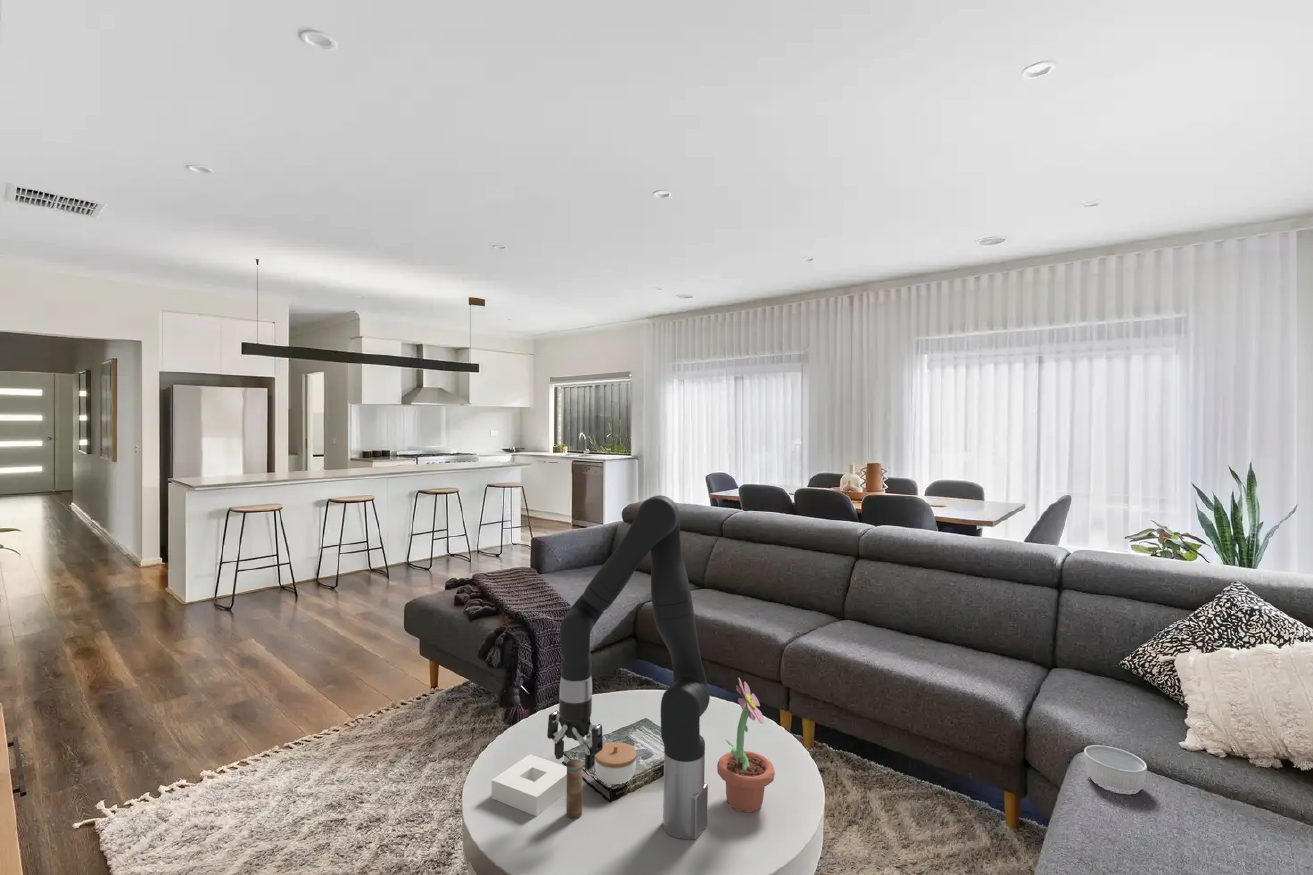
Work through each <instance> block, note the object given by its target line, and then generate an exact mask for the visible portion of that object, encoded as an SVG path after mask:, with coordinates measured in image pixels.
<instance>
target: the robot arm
mask: <svg viewBox="0 0 1313 875" xmlns="http://www.w3.org/2000/svg"><path fill="white" fill-rule="evenodd" d="M680 528H681V527H680V510H679V508H678V506H677V504H676V502H675V501H674V500H673V499H671V498H670V497H668V496H666V495H655V496H654V495H653V496H652V497H649V498H647V499H646V500H644V501H643V502H642V503H641V504H640V506H639V507H638V510H637V513H636V515H635V517H634V519H633V521H632V523H631V525H630V526H629V528H628V531H627V533H626V534H625V536H624V537H623V538H622V539H621V541H620V543H619V545H618V546H617V547H616V549H615V550H614V551H613V553H612V554H611V555H610V556H609V557H608V559H607V560H606V561H605V562H604V564H602V566H601V568H600V569H599V570H598V571H597V572H596V573H595V575H594V577H593V578H592V579H591V580H590V582H589V584H588V585H587V586H586V587H585V589H584V591H583V593H582V594H581V595H580V596H579V597H578V598H577V600H576V601H574V603H573V604H572V605H571V607H570V608H569V609H568V611H567V613H566V614H565V616H564V617H563V618H562V620H561V623H560V629H559V640H560V641H559V643H560V644H559V645H560V652H561V668H560V682H559V698H558V699H559V700H558V701H559V702H558V703H559V704H558V706H559V707H558V710H555V711H553V712H551V713H549V714H548V719H547V720H548V722H547V734H546V736H547V738H548V740H551V739H552V741H553V743H554V747H553V748H554V756H555V760H557V761H558V760H560V759H562V758H563V757H564V755H565V754H564V753H565V752H564V751H565V740H563V739H564V738H565V737H566V738H567V739H572V740H573V741H576V742H578V744H579V746H580V747H582V748H583V750H584V752H585V759H584V770H585V771H589V770H591V769H592V768H593V767H595V755H596V754H597V753H598V752H600V751H601V750H602V749H603V726H602V724H601V723H598V724H597V725H596V724H592V722H591V716H592V711H593V710H592V707H593V679H592V665H593V664H592V663H593V662H592V661H593V660H592V658H593V657H592V653H591V650H590V648H591V646H590V644H591V643H590V642H591V634H592V631H593V629H594V626H595V625H596V623H597V622H598V621H599V619H600V618H601V616H602V615H603V614H604V612H605V611H607V610H608V609H609V608H610V607H611V605H612V604H613V603H614V602H615V600H617V598H618V597H619V595H620V594H621V593H622V592H623V590H624V588H625V587H626V586H627V584H628V583H629V581H630V579H631V578H632V576H633V574H634V572H635V571H636V569H637V567H639V565H640V564H641V562H642V561H643V559H644V558H645V557H646V556H647V554H648V553H649V552H650V558H651V559H650V560H651V561H650V562H651V564H650V565H651V568H650V569H651V570H650V572H651V573H650V595H651V596H650V597H651V606H652V612H653V619H654V622H655V626H656V627H655V628H656V629H657V631H658V632H657V633H658V634H659V635H660V637H661V639H662V641H663V643H664V644H665V647H666V648H667V649H668V652H669V656H670V659H671V668H672V675H673V676H672V677H673V682H672V684H671V685H670V686H669V687H668V688H667V689H666V690H665V691H664V693H663V694H662V697H661V700H660V701H661V702H660V733H661V734H660V735H661V736H660V737H661V741H662V743H663V803H662V805H663V807H662V808H663V812H662V813H663V814H662V820H663V822H662V824H663V827H662V828H663V830H664V831H665V832H666V833H667V834H668V835H669V836H672V837H674V838H677V839H684V840H685V839H692V840H697V839H698V838H699V836H700V835H701V833H703V831H704V830H706V828H707V826H708V800H709V799H708V798H709V797H708V794H709V792H708V791H709V790H708V789H709V785H708V784H707V783H705V764H706V763H705V762H706V761H705V759H706V758H705V755H706V754H705V753H706V742H705V739H704V737H703V735H701V734H700V732H701V730H700V729H701V728H700V726H701V725H700V721H701V720H700V719H701V717H702V716H703V714H704V713H705V712H706V711H707V709H708V707H709V703H710V697H711V696H710V689H709V686H708V681H707V680H708V679H707V678H706V673H705V669H704V665H703V662H702V657H701V652H700V646H699V640H698V639H699V638H698V632H697V626H696V619H695V610H694V604H693V599H692V598H693V597H692V593H691V588H690V582H689V578H688V572H687V570H686V565H685V562H684V558H683V557H684V556H683V552H682V545H681V544H682V543H681V529H680ZM559 725H560V726H561V729H560V730H559ZM585 737H586V739H585Z"/></svg>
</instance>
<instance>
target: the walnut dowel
mask: <svg viewBox="0 0 1313 875" xmlns="http://www.w3.org/2000/svg"><path fill="white" fill-rule="evenodd" d="M566 767H567V792H566V800H565V801H566V805H565V806H566V807H565V808H566V812H565V815H566V818H568V819H570V820H577V819H579V818H581V817H582V815H583V768H584V765H583V761H582V760H580V759H571V760H568V761H567V762H566Z"/></svg>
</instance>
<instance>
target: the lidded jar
mask: <svg viewBox="0 0 1313 875" xmlns="http://www.w3.org/2000/svg"><path fill="white" fill-rule="evenodd" d="M637 753H638V752H637V750H636V749H635V747H634V746H633V745H632V744H628V743H626V742H620V741H619V742H617V741H615V742H607V743H604V744H603V749H602V750H601V751H600V752H598V753H597V754H596V755H595V764H594V769H595V774H596V776H597V778H598V780H599V779H600V780H601V781H602V782H604V783H609V784H622V783H625V782H627V781H629V780H630V779H631V780H632V779H633V777H634V774H635V772H636V766H637V756H638V755H637ZM600 780H599V781H600ZM631 780H630V781H631ZM601 781H600V782H601ZM630 781H629V782H630ZM602 782H601V783H602Z"/></svg>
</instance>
